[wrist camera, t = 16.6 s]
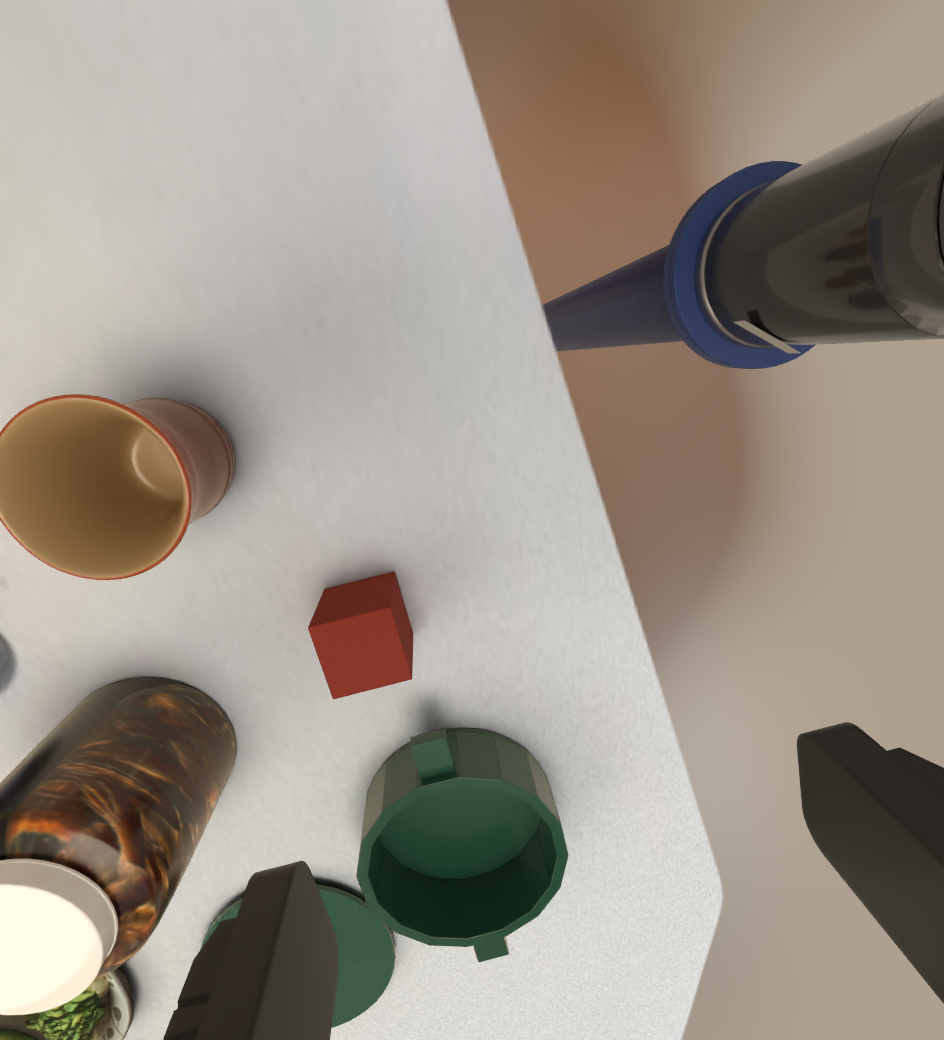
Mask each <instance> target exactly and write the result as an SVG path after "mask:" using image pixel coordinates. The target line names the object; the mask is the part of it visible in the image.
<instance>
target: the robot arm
mask: <svg viewBox="0 0 944 1040" xmlns="http://www.w3.org/2000/svg"><path fill="white" fill-rule="evenodd" d="M695 287H696V294H697V298H698V302H699V305H700V307H701V310H702V312H703V314H704V316H705V318H706V319H707V321H708V322H709V324H710V325H711V326H712V327H713V329H714V330H715V331H716V332H717V333H719V334H720V335H721V336H722V337H724V338H725V339H727V340H728V341H730V342H732V343H734V344H737V345H740V346H744V347H749V348H774V347H778V348H779V349H781V350H783V351H785V352H786V353H800V352H799V351H797V350H795V349H793V348H792V347H790V346H788V345H814V344H835V343H858V342H877V341H878V342H879V341H903V340H924V339H944V92H943V93H941V94H939V95H937V96H935V97H933V98H931V99H930V100H928V101H926V102H924V103H922V104H920V105H918V106H916V107H914V108H912V109H910V110H908V111H906V112H904V113H902V114H901V115H899V116H897V117H895V118H893V119H891V120H889V121H887V122H885V123H883V124H881V125H879V126H878V127H875V128H873V129H872V130H870V131H868V132H866V133H864V134H862V135H860V136H858V137H856V138H854V139H852V140H850V141H848V142H846V143H845V144H843V145H841V146H839V147H837V148H835V149H833V150H831V151H829V152H827V153H825V154H823V155H821V156H819V157H817V158H815V159H814V160H812V161H810V162H808V163H806V164H804V165H802V166H800V167H798V168H796V169H794V170H792V171H790V172H788V173H786V174H784V175H782V176H780V177H778V178H776V179H774V180H773V181H771V182H768V183H764V184H762V185H759V186H757V187H755V188H753V189H751V190H749V191H747V192H746V193H744V194H742V195H740V196H739V197H737V198H736V199H734V200H733V201H732V202H730V203H729V204H728V205H727V206H726V207H725V208H724V209H723V210H722V211H721V212H720V213H719V214H718V215H717V216H716V218H715V219H714V220H713V222H712V223H711V225H710V226H709V228H708V230H707V232H706V234H705V236H704V238H703V240H702V243H701V245H700V248H699V252H698V255H697V260H696V267H695ZM797 752H798V764H799V775H800V787H801V798H802V809H803V814H804V818H805V821H806V824H807V826H808V829H809V831H810V833H811V835H812V837H813V839H814V841H815V843H816V844H817V846H818V847H819V849H820V851H821V852H822V853H823V855H824V856H825V857H826V859H827V860H828V861H829V862H830V863H831V865H832V866H833V867H834V868H835V870H836V871H837V872H838V873H839V875H840V876H841V877H842V878H843V880H844V881H845V882H846V883H847V884H848V886H849V887H850V888H851V889H852V891H853V892H854V893H855V894H856V896H857V897H858V898H859V899H860V900H861V902H862V903H863V904H864V906H865V907H866V908H867V909H868V910H869V912H870V913H871V914H872V915H873V917H874V918H875V919H876V920H877V922H878V923H879V924H880V925H881V927H882V928H883V929H884V930H885V931H886V933H887V934H888V935H889V936H890V938H891V939H892V940H893V941H894V943H895V944H896V945H897V946H898V948H899V949H900V950H901V951H902V952H903V954H904V955H905V956H906V957H907V959H908V960H909V961H910V962H911V963H912V965H913V966H914V967H915V968H916V970H917V971H918V972H919V974H920V975H921V976H922V977H923V978H924V980H925V981H926V982H927V983H928V985H929V986H930V987H931V988H932V990H933V991H934V992H935V993H936V995H937V996H938V997H939V998H940V1000H941V1001H942V1002H943V1003H944V768H943V767H940V766H938V765H936V764H934V763H932V762H930V761H927V760H925V759H923V758H921V757H919V756H917V755H915V754H912V753H910V752H908V751H906V750H904V749H902V748H896V749H892V750H889V751H886V750H885V749H884V748H883V747H881V746H880V745H879V744H878V743H877V742H876V741H874V740H873V739H872V738H871V737H870V736H868V735H867V734H866V733H865V732H864V731H863V730H861V729H860V728H859V727H857V726H856V725H854V724H852V723H848V722H846V723H841V724H838V725H834V726H830V727H826V728H822V729H818V730H814V731H810V732H807V733H803V734H800V735H799V736H798V739H797ZM338 975H339V953H338V944H337V938H336V934H335V930H334V928H333V925H332V923H331V920H330V918H329V915H328V913H327V910H326V908H325V905H324V903H323V900H322V898H321V896H320V893H319V891H318V888H317V886H316V883H315V881H314V878H313V876H312V873H311V871H310V869H309V867H308V865H307V864H306V863H305V862H304V861H299V862H295V863H291V864H288V865H284V866H280V867H276V868H272V869H268V870H264V871H260V872H257V873H255V874H253V876H252V877H251V878H250V880H249V882H248V885H247V887H246V890H245V893H244V896H243V899H242V902H241V905H240V908H239V911H238V914H237V917H235V918H231V919H228V920H224V921H221V922H220V923H219V924H218V926H217V927H216V929H215V930H214V932H213V933H212V934H211V936H210V937H209V939H208V940H207V942H206V943H205V944H204V946H203V947H202V949H201V950H200V952H199V953H198V954H197V956H196V957H195V959H194V960H193V963H192V966H191V968H190V971H189V973H188V976H187V979H186V981H185V984H184V986H183V989H182V992H181V994H180V997H179V999H178V1009H177V1010H174V1012H173V1015H172V1018H171V1020H170V1023H169V1025H168V1028H167V1031H166V1033H165V1036H164V1040H330V1034H331V1027H332V1020H333V1013H334V1005H335V998H336V991H337V984H338Z"/></svg>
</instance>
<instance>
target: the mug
mask: <svg viewBox="0 0 944 1040" xmlns="http://www.w3.org/2000/svg"><path fill="white" fill-rule="evenodd" d="M234 471H235V456H234V450H233V447H232V444H231V441H230V439H229V437H228V435H227V434H226V432H225V430H224V429H223V428H222V426H221V425H220V424H219V423H218V422H217V421H216V420H215V419H214V418H213V417H212V416H210V415H209V414H208V413H206V412H205V411H203V410H201V409H199V408H197V407H195V406H192V405H189V404H186V403H182V402H178V401H175V400H170V399H164V398H149V399H143V400H138V401H135V402H128V403H123V404H121V403H119V402H116V401H113V400H110V399H106V398H102V397H98V396H91V395H78V394H74V395H61V396H55V397H51V398H47V399H44V400H41V401H38V402H36V403H34V404H32V405H30V406H28V407H27V408H25V409H23V410H22V411H20V412H19V413H18V414H17V415H15V416H14V417H13V418H12V419H11V420H10V421H9V422H8V423H7V424H6V425H5V427H4V428H3V429H2V430H1V432H0V520H1V522H2V523H3V525H4V526H5V527H6V529H7V530H8V531H9V532H10V534H11V535H12V536H13V537H14V538H15V539H16V540H17V541H18V542H19V543H20V544H21V545H22V546H23V547H24V548H25V549H26V550H27V551H28V552H30V553H31V554H32V555H33V556H35V557H36V558H38V559H39V560H41V561H42V562H44V563H46V564H47V565H49V566H51V567H53V568H55V569H57V570H59V571H62V572H65V573H67V574H70V575H74V576H77V577H82V578H87V579H95V580H115V579H122V578H127V577H131V576H135V575H138V574H141V573H143V572H145V571H148V570H150V569H152V568H153V567H155V566H157V565H158V564H159V563H161V562H162V561H163V560H165V559H166V558H167V557H168V556H169V555H170V554H171V553H172V552H173V551H174V549H175V548H176V547H177V546H178V544H179V543H180V541H181V540H182V538H183V536H184V534H185V532H186V530H187V527H188V525H189V524H191V523H192V522H194V521H196V520H197V519H199V518H200V517H203V516H204V515H206V514H207V513H209V512H210V511H211V510H213V509H214V508H215V507H216V506H217V505H218V503H219V502H220V501H221V500H222V498H223V497H224V495H225V494H226V493H227V491H228V489H229V487H230V484H231V482H232V479H233V475H234Z"/></svg>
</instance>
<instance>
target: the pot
mask: <svg viewBox="0 0 944 1040" xmlns="http://www.w3.org/2000/svg"><path fill="white" fill-rule="evenodd" d="M567 859H568V851H567V847H566V843H565V839H564V834H563V830H562V826H561V822H560V819H559V815H558V812H557V809H556V806H555V802H554V799H553V796H552V792H551V789H550V786H549V782H548V779H547V776H546V774H545V773H544V771H543V770H542V768H541V766H540V765H539V763H538V762H537V761H536V759H535V758H534V757H533V756H532V755H531V754H530V753H529V752H528V751H527V750H526V749H525V748H523V747H522V746H521V745H520V744H518V743H517V742H515V741H513V740H511V739H510V738H508V737H505V736H503V735H500V734H498V733H494V732H491V731H487V730H481V729H474V728H456V729H447V730H445V729H442V730H438V731H434V732H430V733H426V734H422V735H418V736H414V737H411V742H410V743H408V744H406V745H405V746H403V747H401V748H400V749H399V750H398V751H396V752H395V753H394V754H393V755H392V756H391V757H390V758H389V759H388V760H387V761H386V762H385V763H384V764H383V765H382V767H381V768H380V769H379V770H378V772H377V774H376V775H375V777H374V779H373V781H372V783H371V785H370V787H369V789H368V791H367V798H366V806H365V813H364V820H363V828H362V836H361V844H360V852H359V860H358V867H357V879H358V882H359V885H360V887H361V890H362V893H363V895H364V898H365V901H366V903H367V906H368V908H369V909H370V910H371V911H372V912H373V913H374V914H375V915H376V916H377V917H378V918H379V919H380V920H381V921H383V922H384V923H385V924H386V925H387V926H388V927H389V928H390V929H391V930H392V931H393V932H396V933H398V934H401V935H404V936H406V937H409V938H412V939H414V940H417V941H419V942H422V943H425V944H427V945H434V946H459V947H469V946H474V950H475V953H476V956H477V959H478V962H482V961H486V960H490V959H493V958H497V957H501V956H505V955H508V954H509V952H508V945H507V940H506V936H508V935H509V934H511V933H512V932H514V931H516V930H517V929H519V928H520V927H522V926H523V925H525V924H527V923H528V922H530V921H531V920H533V919H534V918H536V917H537V916H539V915H540V913H541V912H542V911H543V909H544V908H545V907H546V906H547V904H548V903H549V902H550V900H551V899H552V898H553V897H554V895H555V894H556V893H557V891H558V890H559V889H560V887H561V883H562V879H563V875H564V871H565V867H566V863H567Z"/></svg>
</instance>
